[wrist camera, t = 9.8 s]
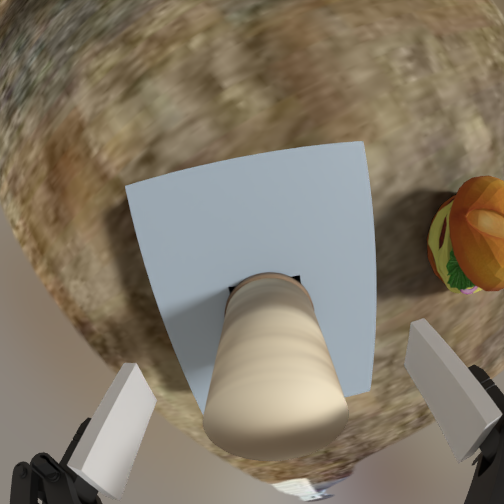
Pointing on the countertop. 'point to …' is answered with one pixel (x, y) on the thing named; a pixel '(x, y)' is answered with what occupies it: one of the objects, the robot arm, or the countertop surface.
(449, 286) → the cheeseburger
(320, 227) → the board
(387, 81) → the countertop surface
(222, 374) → the peg
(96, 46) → the countertop surface
